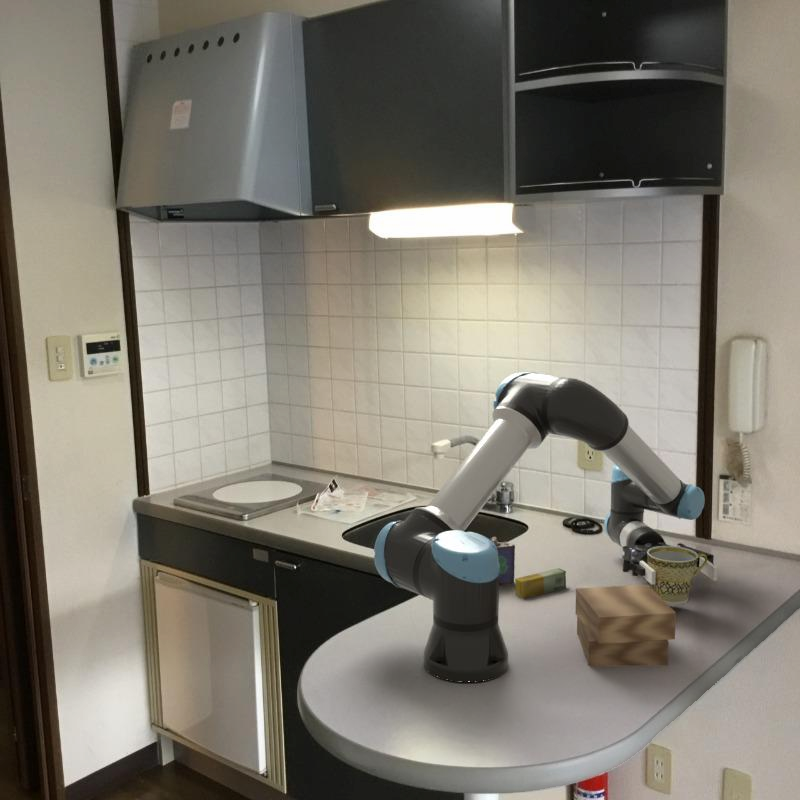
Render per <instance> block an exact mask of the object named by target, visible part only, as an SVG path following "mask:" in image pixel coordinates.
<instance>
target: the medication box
mask: <svg viewBox="0 0 800 800" xmlns="http://www.w3.org/2000/svg"><path fill="white" fill-rule="evenodd" d="M566 575H567V572H566V570H564V569H563V568H562V569H561V568H559V567H557V568H554V569H549V570H546V571H541V572H537V573H534V574H528V575H525V576H522V577H521V576H520V577H516V578H514V584H515V596H517V597H518V598H521V599H526V598H530V597H534V596H535V597H536V596H538V595H543V594H548V593H550V592H555V591H560V590H563V589H567V577H566Z"/></svg>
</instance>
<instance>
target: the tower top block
mask: <svg viewBox="0 0 800 800" xmlns="http://www.w3.org/2000/svg"><path fill="white" fill-rule="evenodd" d="M575 615H576V617H577V616H578V617H579V619H580V620H581V621H582V623H583V624H584V625H585V627H586V628H587V629H588V631H589V632H590V633H591V635H592V636H593V637H594V638H595V640H596V641H597V642H598V644H609V643H625V642H641V641H656V640H668V641H669V640H675V639H676V621H677V620H676V619H677V612H676V611H675V610H674V609H673V608H672V607H671V606H668V605H667V604H666V603H665V602H664V601H663V600H662V599H661V598H660V597H659V596H658V595H657V594H656V593H655V592H654V591H653V590H652V587H650V585H648V584H634V585H631V584H630V585H617V586H615V585H613V586H599V587H597V586H596V587H581V588H575Z"/></svg>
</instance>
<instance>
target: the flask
mask: <svg viewBox="0 0 800 800" xmlns="http://www.w3.org/2000/svg"><path fill="white" fill-rule="evenodd" d="M489 539H490V540H491V541H492V542H493V543H494V544H495V546H496V548H497V551H498V562H499V565H500V567H499V569H500V571H499V586H507V585H513V584H515V568H516V567H515V566H516V565H515V562H516V561H515V559H516V557H515V556H516V552H515V550H516V545H515V544H514V543H512V542H508V541H503V542H499V541H498V540H497V539H498V538H497V537H496V536H492V537H490V538H489Z"/></svg>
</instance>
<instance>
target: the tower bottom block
mask: <svg viewBox="0 0 800 800" xmlns="http://www.w3.org/2000/svg"><path fill="white" fill-rule="evenodd" d="M576 619H577V620H576V635H577V637H578V640H579V644H580V646H581V648H582V652H583V655H584V657H585V659H586V662H587V665H588V666H668V660H669V656H668V655H669V640H656V641H641V642H625V643H609V644H598V642H597V641H596V640H595V638H594V637H593V636H592V635H591V633H590V632H589V631H588V629H587V628H586V627H585V625H584V624H583V623H582V621H581V620H580V619H579V617H578V616H577V615H576Z"/></svg>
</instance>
